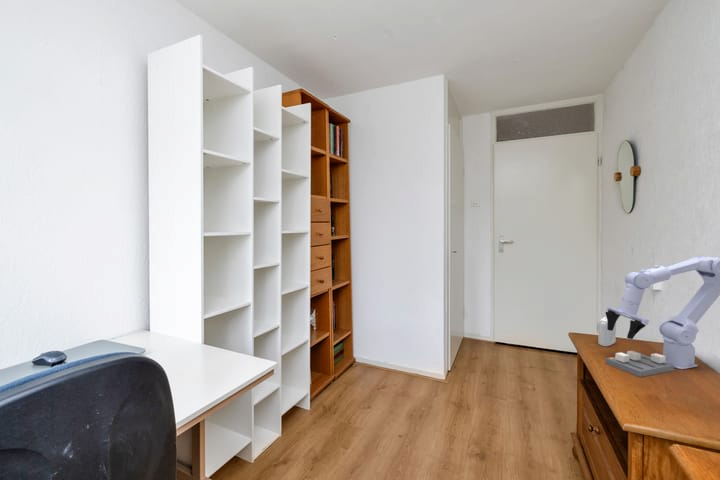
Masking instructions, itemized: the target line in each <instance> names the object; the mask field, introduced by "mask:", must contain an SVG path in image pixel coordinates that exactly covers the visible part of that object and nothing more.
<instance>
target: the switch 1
mask: <svg viewBox="0 0 720 480" xmlns="http://www.w3.org/2000/svg"><path fill="white" fill-rule="evenodd" d="M614 357H615V359H616V360H618V361H621V362H629V359H630V355H627V353H624V352H616V353H615V355H614Z"/></svg>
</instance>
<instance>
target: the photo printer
mask: <svg viewBox="0 0 720 480" xmlns="http://www.w3.org/2000/svg"><path fill="white" fill-rule="evenodd" d="M597 333H598V334H597V335H598V337H597V339H598V340H597V344H598V345H599V346H603V347H610V346H611V345H614V344H615V343H616V338H617V336H616V334H617V322H616V323H615V326H614V328H613V330H612V331H611V330H607V317H606V316H605V317H604V316H603V318H601V319H600V320H599V321H598V332H597Z"/></svg>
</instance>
